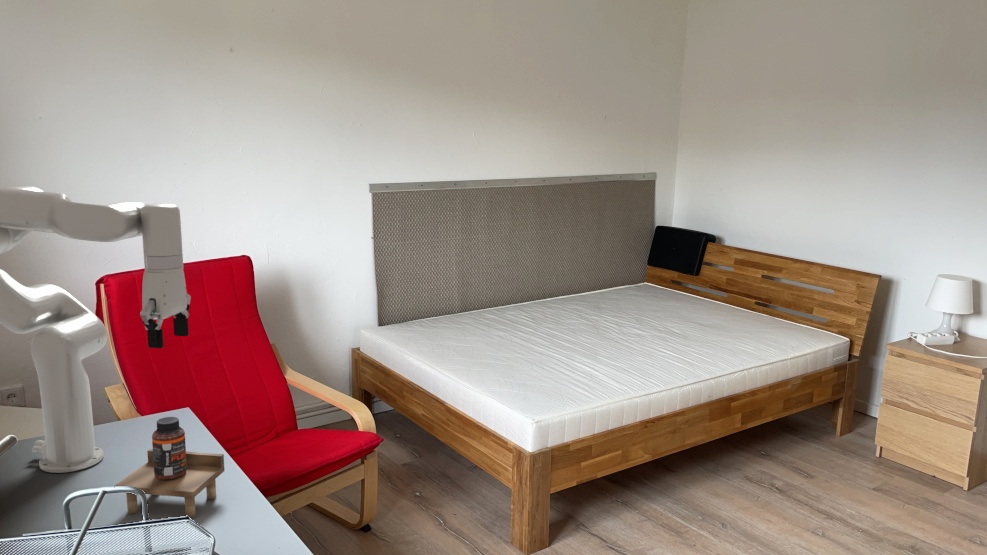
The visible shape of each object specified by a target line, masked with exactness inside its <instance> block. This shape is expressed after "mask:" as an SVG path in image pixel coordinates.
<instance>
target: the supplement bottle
mask: <svg viewBox="0 0 987 555" xmlns="http://www.w3.org/2000/svg"><path fill="white" fill-rule="evenodd" d="M151 439H152V443H151V444H152V449H153V461H154V475H155V477H156V478H158V479H162V480H171V479H176V478H179V477H181V476H183V475H184V474H185V473H186V471H187V463H186V460H187V459H186V452H187V451H186V450H187V449H186V432H185V429H184V428H183V427H181V426H180V419H179V417H176V416H165V417H161V418H158V419H157V421H156V429H155V431H153V433H152V436H151Z"/></svg>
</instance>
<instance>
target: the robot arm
mask: <svg viewBox="0 0 987 555" xmlns="http://www.w3.org/2000/svg"><path fill="white" fill-rule="evenodd" d="M181 225H182V222H181V211H180V208H179V206H177V205H176V204H173V203H167V202H166V203H165V202H164V203H161V202H160V203H145V202H139V201H123V202H115V203H109V204H94V203H84V202H83V203H82V202H74V201H72V200H71V199H70V197H69V196H67V195H66V194H65V193H62V192H52V191H44V190H42V189H40V188H38V187H36V186H33V185H18V186H17V185H15V186H6V187H5V186H4V187H0V255H2V254H4V253H7V252H8V251H10V250H12V249H13V248H14V247H16V246H17V245H18V244H20V242H22V241H23V240H24V239H26V237H28V236H29V235H30V234H31V233H32V232H38V233H40V232H41V233H50V234H57V235H59V236H61V237H65V238H67V239H71V240H72V239H73V240H77V241H78V240H80V241H89V242H97V243H98V242H99V243H113V242H114V243H116V242H119V241H123V240H127V239H132V238H135V237H142V250H143V261H144V263H143V265H144V271H143V276H142V285H141V286H142V288H141V289H142V290H141V291H142V292H141V293H142V294H141V297H142V298H141V301H142V302H141V305H142V309H141V311H140V313H139V315H140V318H141V319H142V324H143V325H144V328H145V330H146V333H147V347H148V348H150V349H163V348H164V346H165V343H164V331H163V328H162V324H163V322H164V320H165V319H169V318H170V317H173V318H172V323H173V324H172V325H173V336H175V337H188V336H189V334H190V333H189V331H190V330H189V319H188V318H189V316H190V313H189V311H190V308H191V306H190V304H191V299H192V296H191V295H190V294H189V293H188V291H187V284H186V278H185V272H184V257H183V256H184V254H183V239H182V238H183V237H182V226H181ZM155 320H156V321H155ZM0 324H1V326H3V327H4V328H5V329H7V330H9V331H10V332H11V333H14V334H19V335H23V334H24V335H25V334H29V333H32V332H35V331H38V330H40V331H38V332H37V334H35V336H33V338H32V341H31V345H30V354H31V358H32V361H33V364H34V366H35V370H36V374H37V375H36V376H37V379H38V386H39V394H40V401H41V413H42V424H43V433H44V439H43V440H40V439H37V440H36V441H35V442H34V443H33V444H34V445H33V447H32V448H31V452H32V453H38V454H39V453H41V456H42V457H41V458H40V459H39V461H38V465H39V469H40V470H42V471H43V472H46V473H52V474H54V473H55V474H56V473H57V474H62V473H63V474H64V473H70V472H71V473H72V472H76V471H77V472H78V471H80V470H84V469H87V468H90V467H92V466H94V465H97V464H98V463H100V461H102V460H103V459H104V450H103V449H102V448H101V447H98V446H96V443H95V439H96V438H95V430H94V429H95V428H94V418H93V417H94V416H93V407H92V405H93V404H92V394H91V387H90V386H91V385H90V379H89V376H88V373H87V372H86V370H85V367H84V364H82V360H84V359H86V358H88V357H90V356H92V355H93V354H96V353H97V352H100V351H101V349H103V348H104V346H105V345H106V343H107V340H108V330H107V327H106V326H105V324H104V323H103V321H102V320H101V319H100V318H99V317H98V316H97V315H96V314H95V313H94V312H92V311H91V310H90V309H89V308H87V307H86V306H85V305H84V304H83V303H82V302H80V301H79V300H78V299H77V298H75V297H74V296H73V295H72V294H71V293H69V292H68V291H67V290H65V289H63V287H61V286H58V285H57V284H56V285H55V284H51V283H38V284H34V285H29V286H27V285H26V286H25V285H23V284H21V283H20V282H18V281H17V280H16V279H15V278H13V277H12V276H11V275H10V274H9V273H8V272H6V271H5V270H3V269H2V268H0Z"/></svg>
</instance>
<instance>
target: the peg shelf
mask: <svg viewBox="0 0 987 555" xmlns="http://www.w3.org/2000/svg"><path fill="white" fill-rule="evenodd" d="M146 452H147V462H146V463H144V464H143V465H141V466H140V467H139V468H138V469H136V470H135V471H132V472H131V473H130V474H129V475H128V476H126V477H124V478H123V479H121V481H119V482H118V483H116V484H115V485H114V487H115V486H133V487H137V488H139V489H141V490H143V491H144V492H145V494H144V495H152V496H165V497H178V498H184V509H185V510H184V512H185V516H186V515H188V516H189V517H190V518H192V519H195V518H196V516H197V515H196V514H197V513H196V497H197V496H198V495H199V494H200V493H201V492H202V491H203V490H205V488H206V491H205V492H206V499H207V500H209V501H210V500H211V501H212V500H215V499H216V498H217V485H216V481H217V480H216V479H217V478H218V477H220V475H222V474H223V473H224V472H225V456H224V455H225V454H223V453H210V452H196V451H186V459H187V460H186V463H187V471H186V473H185V474H184V475H183V476H181V477H179V478H176V479H171V480H162V479H158V478H156V477H155V475H154V461H153V448H149V449H148V450H147V451H146ZM125 495H126V509H127V514H128V515H133V514H137V513H138V512H139V508H138V507H139V506H138V505H139V504H138V494H137V495H135V494H132V493H126V492H125ZM192 519H191V520H192Z"/></svg>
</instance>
